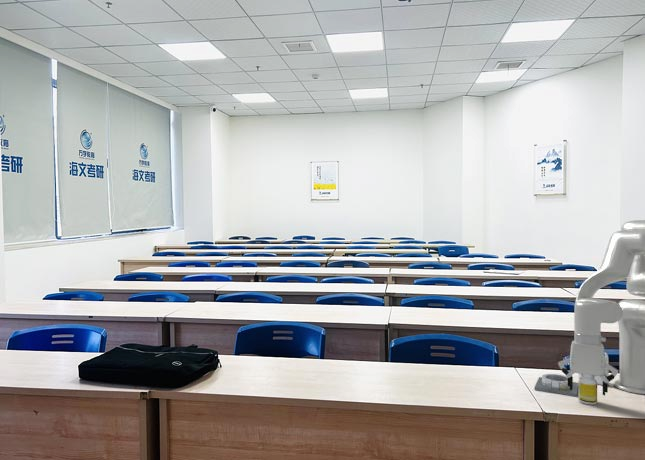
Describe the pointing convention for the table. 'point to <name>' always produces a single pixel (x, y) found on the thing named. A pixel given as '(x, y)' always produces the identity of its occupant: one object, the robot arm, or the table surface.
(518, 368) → the table surface
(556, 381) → the ring collar block
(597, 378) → the photo printer
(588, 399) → the supplement bottle
